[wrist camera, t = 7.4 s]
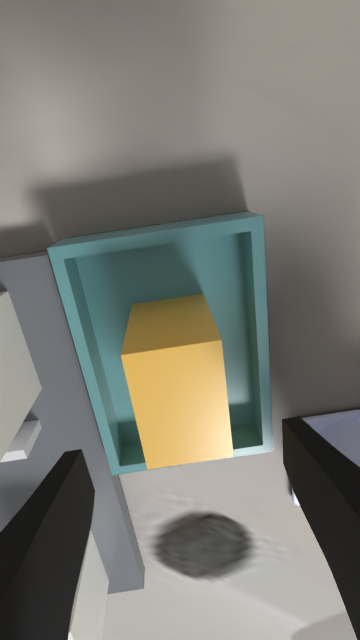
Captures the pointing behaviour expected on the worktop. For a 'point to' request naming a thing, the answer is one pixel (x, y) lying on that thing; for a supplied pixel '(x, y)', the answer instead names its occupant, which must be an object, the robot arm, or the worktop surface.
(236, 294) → the tray
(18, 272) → the board
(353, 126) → the worktop surface
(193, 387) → the yellow rectangular block
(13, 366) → the block
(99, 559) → the block
